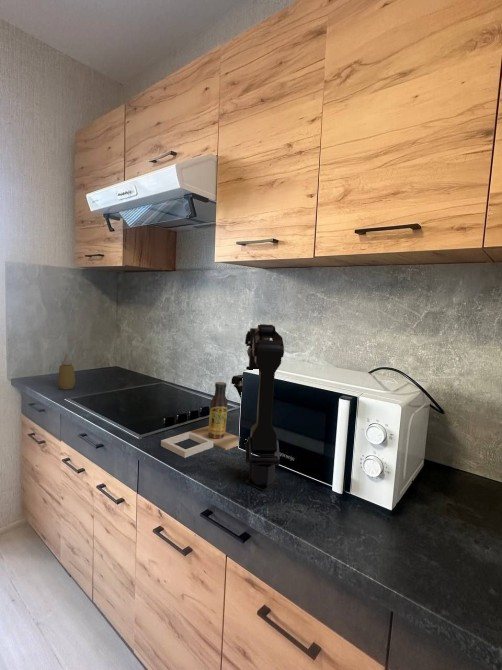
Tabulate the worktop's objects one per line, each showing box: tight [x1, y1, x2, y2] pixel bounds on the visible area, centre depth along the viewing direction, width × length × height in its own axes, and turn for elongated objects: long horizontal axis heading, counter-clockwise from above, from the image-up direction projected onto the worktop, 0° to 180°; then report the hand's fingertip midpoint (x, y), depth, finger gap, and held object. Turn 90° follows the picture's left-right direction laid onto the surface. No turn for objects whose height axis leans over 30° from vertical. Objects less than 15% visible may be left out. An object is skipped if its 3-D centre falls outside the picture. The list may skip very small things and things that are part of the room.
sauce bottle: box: [208, 381, 228, 439], centre depth 129 cm, size 6×6×20 cm
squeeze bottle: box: [57, 353, 76, 390], centre depth 185 cm, size 8×8×18 cm
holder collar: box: [160, 431, 214, 459], centre depth 121 cm, size 12×12×2 cm
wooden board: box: [189, 425, 240, 451], centre depth 131 cm, size 20×11×1 cm, turn 50°
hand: (254, 407), depth 126 cm, fingers open, 9 cm apart
